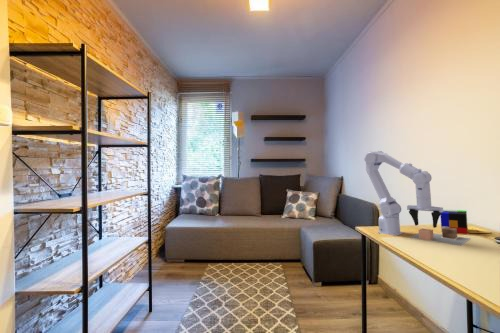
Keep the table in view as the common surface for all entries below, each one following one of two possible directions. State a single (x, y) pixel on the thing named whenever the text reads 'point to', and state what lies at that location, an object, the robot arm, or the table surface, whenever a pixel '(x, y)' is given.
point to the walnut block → (449, 233)
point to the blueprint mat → (445, 239)
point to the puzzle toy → (454, 220)
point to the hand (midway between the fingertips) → (425, 226)
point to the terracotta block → (426, 234)
